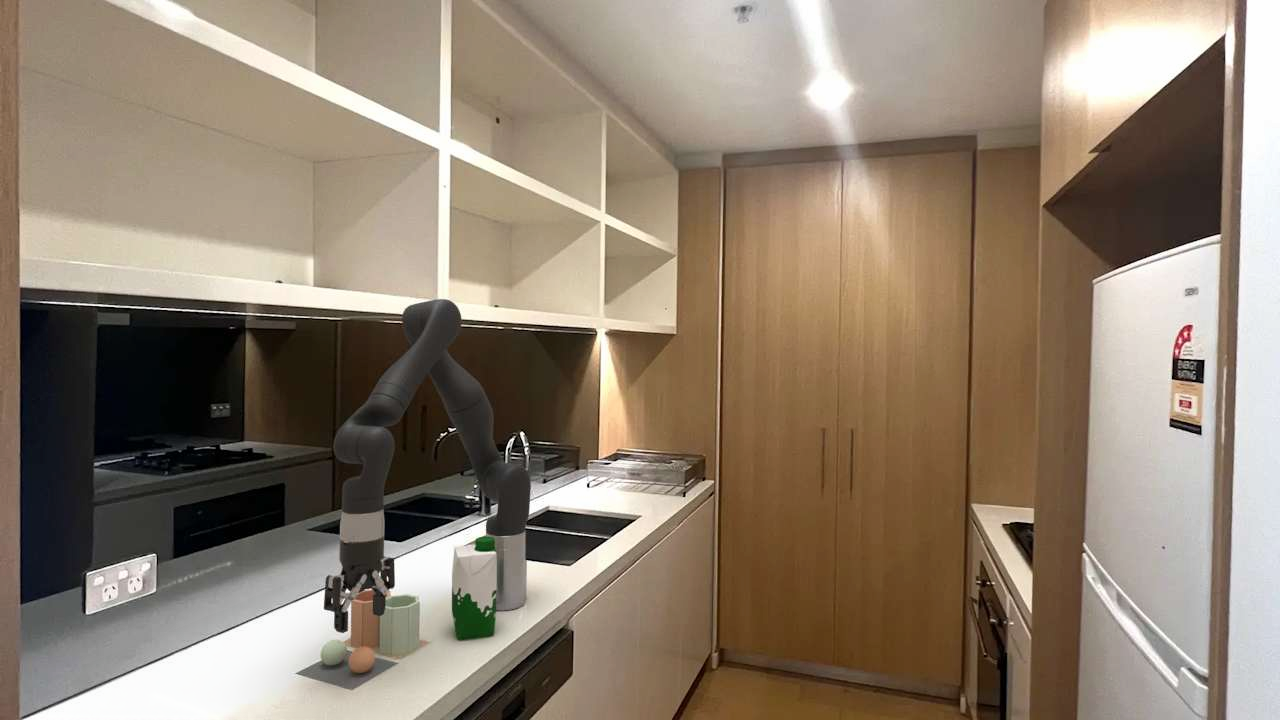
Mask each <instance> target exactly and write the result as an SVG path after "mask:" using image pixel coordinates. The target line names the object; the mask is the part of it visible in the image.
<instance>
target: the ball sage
mask: <svg viewBox="0 0 1280 720" xmlns="http://www.w3.org/2000/svg"><path fill="white" fill-rule="evenodd" d="M347 650H348V646H346V645H345V643H344V642H343V640H340V639H331V640H328V641H327V642H326V643H325V644H324V645H323V646H322V647H321V651H320V660H322V661H323V662H324V663H325V664H326V665H329V666H334V665H337V664H339V663H341V662H342V661H343V660H344V658H345V657H346V654H347Z"/></svg>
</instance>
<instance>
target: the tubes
mask: <svg viewBox="0 0 1280 720" xmlns="http://www.w3.org/2000/svg"><path fill="white" fill-rule="evenodd" d="M374 594H375V593H374V592H373V591H372V589H365V590H364V591H363V592H361V593H358V594H357V596H356V598H355V599H354V600H352V601H351V603H350V637H349V638H348V639H346V640H344V641H343V640H342V641H343V642H344V643H345V645H346V647H347V648H348V647H349V648H352V649H357V648H359V647H363V646H365V647H369V648H371V649H372V650H373V652H374V654H377V655H380V656H385V657H389V658H393V659H396V660H400V661H401V660H402V659H404V658H406V657H408V656H409V655H412V653H414V652H416V651H418V650H420V649H422V648H424V647H425V646H427V645H428V644H430V643H431V641H427V640H423V639H420V620H421V619H420V613H421V612H420V611H421V610H420V608H421V603H420V602H421V601H420V597H419V596H417V595H413V594H407V593H405V594H397V595H392V593H391V590H390V589H389V590H388V592H387V594H386V602H385V603H386V604H385V611H384V614H383V615H381V616H377V615H374V614H373V595H374Z"/></svg>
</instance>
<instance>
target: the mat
mask: <svg viewBox="0 0 1280 720" xmlns="http://www.w3.org/2000/svg"><path fill="white" fill-rule="evenodd" d="M353 651H354V650H349V649H347V654H346V657H345V658H344V660H343V661H342V662H341V663H339V664H337V665H334V666H329V665H326V664H325V663H324V662H323V661H322V659H320V660H319V661H317V662H315V663H313V664H310V665H309V666H307V667H305V668H303V669H301V670H299V671H297V672H295V673H294V675H298V676H302V677H304V678H308V679H312V680H315V681H319V682H322V683H326V684H329V685H333V686H336V687H340V688H342V689H347V690H351V691H353V690H356V689H357V688H359V687H360V686H362V685H364V684H365V683H367V682H369V681H371V680H372V679H375V677H377V676H380V675H381V674H383V673H385V672H386V671H387V670H390V669H391V668H393V667H395V666H396V665H398V664H399V662H396V661H392V660H387V659H384V658H380V657H376V656H375V662H374V664H373V666H372V667H371V669H370V670H368V671H367V672H364V673H355V672H353V671H352V670H351V669H350V667H349V657H350V655H351V653H352V652H353Z"/></svg>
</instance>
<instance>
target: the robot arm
mask: <svg viewBox="0 0 1280 720" xmlns="http://www.w3.org/2000/svg"><path fill="white" fill-rule="evenodd" d="M462 319H463V318H462V315H461V311H460V309H459V308H458V306H457V305H456V304H455V303H454V302H453V301H451V300H450V299H447V298H446V299H444V298H439V299H431V300H427V301H421V302H417V303H413V304H410V305H408V306H406V307H405V308H404V311H403V312H402V316H401V324H402V328H403V331H404V334H405V336H406V338H407V340H408V342H409V344H410V345H411V347H410V348H409V350H407V351H406V352H405V354H403V355H402V356H401V357H400V358H399V359H398V360H397V361H395V362H394V364H392V365H391V366H390V367H389V368H388V369H387V370H386V371H385V372H384V374H382V376H381V378H379V380H378V382H377V383H376V385H375V387H374V388H373V390H372V392H371V393H370V396H369V397H368V399H367V400H366V402H365V403H363V404H362V405H361V406H360V407H359V408H358V409H357V410H356V411H355V412H354V413H353V414H352V415H351V416H350V417H349V418H348V419H347V420H346V421H345V422H344V423H343V424H342V425H341V426H340V428H339V429H338V431H337V432H336V435H335V437H334V441H333V446H332V447H333V454H334V455H335V457H336V459H338V461H340V462H342V463H346V464H353V465H354V464H356V465H363V468H362V471H361V473H360V475H358V476H352V477H350V478H348V479H346V480H345V481H344V482H343V485H342V494H341V495H342V497H341V517H340V518H341V519H340V522H339V523H340V524H339V557H338V559H339V562H340V564H341V567H342V568H341V571H340V573H339V574H337V575H330V574H328V575H326V577H325V582H324V583H325V587H324V599H323V600H324V601H323V610H325V611H327V612H328V611H330V612H331V613H332V612H334V613H333V614H334V615H333V616H334V618H333V620H334V621H333V622H334V623H333V628H334V630H335V631H336V632H338V633H341V634H344V633H346V632H348V630H349V611H348V610H349V607H350V606H351V601H352V600H354V599H355V598H356V596H357V594H358V593H361V592H363V591H364V590H371V589H372V591H373V592H374V593H375V594H374V595H373V614H374V615H377V616H381V615H383V614H384V611H385V604H386V603H385V602H386V594H387V592H388V590H389V591H390V589H391V590H392V589H394V588H395V586H396V580H395V579H396V578H395V577H396V575H395V558H394V557H390V556H385V514H384V513H385V512H384V499H385V498H384V497H385V492H384V489H385V484H386V481H387V477H388V474H389V471H390V468H391V464H392V460H393V458H394V453H395V449H396V448H395V446H396V445H395V439H394V437H393V434H392V433H391V431H390V430H389V429H388V428H386V427H391V426H394V425H396V424H398V423H399V422H400V420H401V419H402V417H403V416H404V414H405V412H406V410H407V408H408V406H409V405H410V403H411V400H412V399H413V397H414V395H415V394H416V392H417V390H418V388H419V387H420V385H421V383H422V382H423V381H424V379H425V378H426V376H427V375H429V377H430V379H431V381H432V383H433V385H434V387H435V389H436V391H437V393H438V395H439V397H440V399H441V400H442V403H443V406H444V408H445V410H446V412H447V414H448V417H449V420H450V421H451V423H452V425H453V427H454V429H455V430H456V432H457V435H458V437H459V439H460V441H461V444H462V445H463V447H464V450H465V451H466V454H467V456H468V459H469V462H471V467H472V468H473V469H472V470H473V472H474V475H475V478H476V482H477V484H478V486H479V489H480V491H481V492H482V494H483V495H484V497H486V498H488V499H489V500H491V501H495V502H497V511H496V515H494V516H490V517H489V518H487V520H486V522H485V537H486V536H488V537H494V538H495V548H496V554H497V592H496V611H510V610H515V609H518V608H521V607H522V606H523V605H524V604H525V602H526V601H525V600H527V572H528V571H527V568H528V561H527V559H526V531H527V530H526V524H527V522H528V520H529V516H530V505H531V489H532V487H531V486H532V484H531V476H530V474H529V471H528V470H527V469H526V468H525V467H523V466H522V465H520V464H514V463H509V462H506V461H504V459H503V458H502V456H501V454H500V452H499V450H498V449H497V446H496V443H495V440H494V436H493V435H494V419H495V418H494V411H493V408H492V405H491V403H490V401H489V399H488V396H487V394H486V392H485V390H484V388H483V386H482V385H481V384H480V382H479V381H478V380H477V379H476V378H475V377H473V375H472V374H470V373H469V372H468V371H466V369H464V368H463V367H462V366H461V365H460V364H459V363H458V362H456V361H455V360H454V359H453V358H452V356H451V354H450V353H449V352H448V350H447V349H448V348H449V346H450V345H451V344H452V343H453V342H454V340H455V339H456V338H457V337H458V335H459V333H460V331H461V328H462V321H463V320H462ZM346 591H349V592H346Z"/></svg>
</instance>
